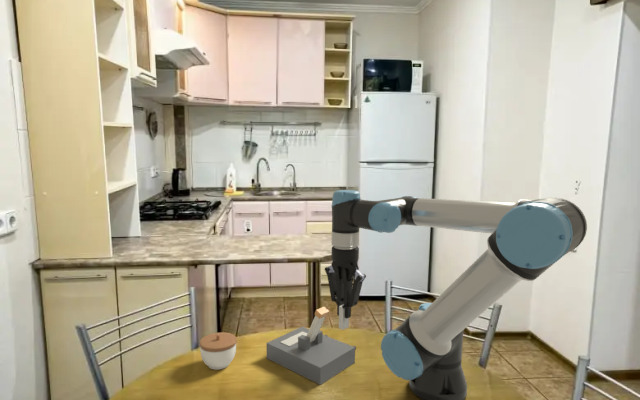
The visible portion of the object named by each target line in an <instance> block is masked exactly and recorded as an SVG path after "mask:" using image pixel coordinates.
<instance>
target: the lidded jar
mask: <svg viewBox="0 0 640 400" xmlns="http://www.w3.org/2000/svg"><path fill="white" fill-rule="evenodd" d="M199 348H200V350H199V351H200V357H201V360H202V361H203V363H204V364H205V365H206V366H207V367H208V368H209V369H211V370H215V371H217V370H224V369H226V368H227V367H228V366H229V365H230V364H231V362H232V361H233V360H234V359H235V356H236V353H237V352H236V351H237V337H236V335H234V334H232V333H230V332H223V331H222V332H213V333H209V334H207V335H205V336H202V338H201V339H200V340H199Z"/></svg>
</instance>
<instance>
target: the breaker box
mask: <svg viewBox="0 0 640 400" xmlns="http://www.w3.org/2000/svg"><path fill="white" fill-rule="evenodd" d="M309 329H310V328H307V327H305V326H300V327H298V328H296V329H293V330H291V331H290V332H287V333H285V334H283V335H280V336H278V337H276V338H274V339H272V340H270V341H268V342H266V359H267V360H268V361H269V360H270V361H271V362H273V363H275V364H278V365H279V366H282V367H284V368H286V369H288V370H289V371H292V372H293V373H295V374H297V375H299V376H302V377H304V378H305V379H308V380H310V381H311V382H313V383H316V384H318V385H319V386H320V385H322V384H324V383H325V382H328V381H329V380H331V379H332V378H333V377H335V376H336V375H338V374H339V373H341V372H342V371H344V370H346V369H347V368H349V367H351V366H353V364H355V362H356V359H355V358H356V350H355V347H353V346H354V345H350V344H349V343H345V342H342V341H341V340H337V339H335V338H334V337H331V336H328V335H327V336H325V335H326V334H324V333H323V330H321V329H320V330H319V332H318V334H317V337H316V339H315V340H314V341H312V342H310V338H309V337H307V334H308V331H309Z"/></svg>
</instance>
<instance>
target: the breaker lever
mask: <svg viewBox="0 0 640 400" xmlns="http://www.w3.org/2000/svg"><path fill="white" fill-rule="evenodd" d="M329 312H330V310H328V308H326V306H322V307H319V308H318V309H316V310H315V311H314V318H313V320H312V323H311V325H310V327H309V328H308V329H309V331H308V334H307V337H309V338H310V342H312V341H314V340H315V339H316V337H317V334H318V332H319V330H320V331H321V327H322V325H323V322H324V321H325V318H326V317H327V316H328V315H329Z"/></svg>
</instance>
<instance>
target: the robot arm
mask: <svg viewBox="0 0 640 400" xmlns="http://www.w3.org/2000/svg"><path fill="white" fill-rule="evenodd" d="M331 199H332V201H331V222H332V223H331V242H330V243H331V244H330V245H332V247H331V260H332V261H331V265H329V266H326V267H324V271H325V274H326V277H327V282H328V287H329V289H328V290H329V294H330V298H331V301H332V302H334V303H335V304H336V306H337V307H336V309H337V310H336V311H337V312H336V314H337V316H338V329H339V330H342V331H343V330H346V329H348V328H349V327H350V318H351V316H352V307H355V306H357V305H358V303H359V298H360V295H361V294H360V293H361V291H362V287H363V282H364V281H365V279H366V277H367V275H366V273H362V272H361V271H360V269H359V268H360V267H359V265H358V261H359V258H360V257H359V255H360V253H359V252H360V251H359V250H360V249H359V247H358V246H359V245H360V244H359V243H360V229H363V230H364V229H365V230H369V231H372V232H377V233H387V234H390V233H393V232H395V231H396V230H397V229H398V228H399V227H400V226H403V225H404V226H415V227H417V226H418V227H426V228H427V227H428V228H435V229H446V230H453V231H455V230H456V231H463V232H472V233H475V232H476V233H481V234H482V233H483V234H490V235H489V236H488V238H487V241H486V243H487V249H486V250H485V251H484V252H483V253H482V254H481V255H480V256H479V257H478V258H476V260H475V261H474V262H472V264H470V266H469V267H467V269H465V271H464V272H462V273H461V274H460V275H459V276H458V277H457V279H455V280H454V282H452V283H451V284H450V285H449V286H448V287H447V288H446V289H445V290H444V291H443V292H442V293H441V294H440V295H439V296H438V297H437V298H436V299H434V301H433V302H426V303H421V304H420V305H419V307H418V310H415V311H413V312H412V313H410V315H408V317H407V318H405V320H404V321H403V322H402V323H401V324H399V325H398V326H397V327H396V328H394V329H392V330H389V331H388V332H386V333H385V335H384V336H383V337H382V339H381V343H380V351H381V356H382V359H383V361H384V363H385V365H386V366H387V367H388V369H389V370H390V372H391V373H392V374H394V375H395V376H396V377H398V378H401V379H403V380H405V381H409V382H408V383H409V384H408V386H409V388H410V390H411V392H412V393H413V394H414V395H415V396H416V397H418V398H420V399H422V400H465V399H466V398H467V396H468V395H467V394H468V384H467V380H466V376H465V373H464V368H463V366H462V358H463V357H462V356H463V343H464V330H465V329H466V328H467V327H468V326H470V325H471V324H472V323H473V322H475V321H476V320H477V318H479V317H480V316H481V315H482V314H484V313H485V312H486V311H487V310H488V309H490V307H492V306H493V305H494V304H495V303H496V302H498V301H499V300H500V299H501V298H502V297H503V296H505V295H506V294H507V293H508V292H509V291H510V290H511V289H513V287H515V286H516V285H517V284H518V283H520V281H527V282H533V281H535V280H536V279H538V278H539V277H540V276H541V275H542V274H544V272H546V271H547V270H548V269H549V268H551V267H552V266H553V265H554V264H555V263H557V262H558V261H559V260H561V258H563V257H564V256H565V255H566V254H569V253H571V252H572V251H573V250H575V249H576V248H578V247H579V246H580V245H581V244H582V242H583V241H584V240H585V237H586V235H587V231H588V224H587V219H586V216H585V215H584V212H583V210H581V209H580V207H579V206H577V205H576V204H575V203H573V202H571V201H570V200H568V199H564V198H561V197H545V198H533V199H532V198H521V199H519V200H518V201H517V202H504V201H503V202H501V201H500V202H499V201H484V200H482V201H481V200H480V201H479V200H464V199H462V200H461V199H444V198H443V199H441V198H424V197H422V198H421V197H419V198H418V197H416V196H412V195H411V196H409V195H405V196H401V197H396V198H388V199H383V200H381V199H380V200H368V199H366V200H365V199H362V198H361V193H360V191H358V190H353V189H340V190H339V189H338V190H335V191H334V192H333V194H332V198H331Z"/></svg>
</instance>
